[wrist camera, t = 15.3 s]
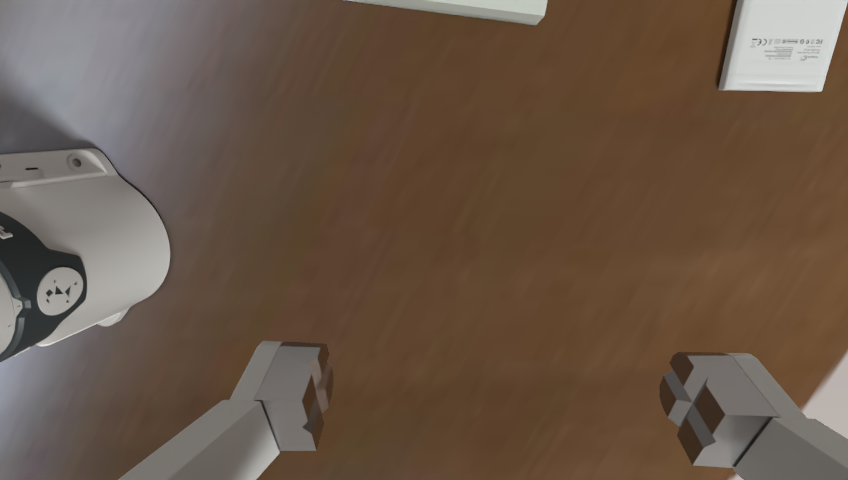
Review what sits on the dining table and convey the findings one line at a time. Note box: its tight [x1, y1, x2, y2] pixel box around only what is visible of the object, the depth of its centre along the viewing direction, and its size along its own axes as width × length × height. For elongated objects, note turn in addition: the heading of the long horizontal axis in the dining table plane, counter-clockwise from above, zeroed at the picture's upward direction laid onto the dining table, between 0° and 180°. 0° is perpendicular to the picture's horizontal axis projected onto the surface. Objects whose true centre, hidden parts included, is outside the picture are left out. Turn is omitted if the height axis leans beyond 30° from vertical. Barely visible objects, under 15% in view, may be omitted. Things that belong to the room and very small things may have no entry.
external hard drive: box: [718, 0, 848, 92], centre depth 33 cm, size 2×8×12 cm
